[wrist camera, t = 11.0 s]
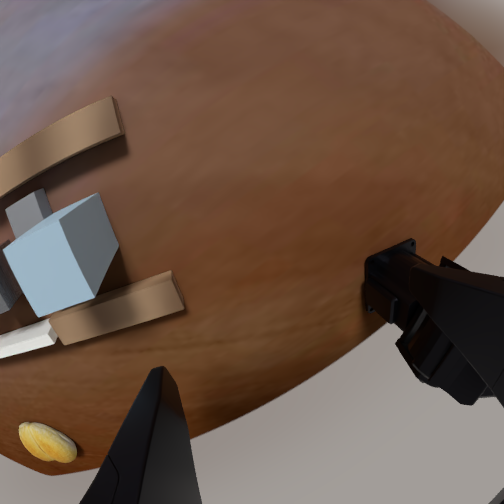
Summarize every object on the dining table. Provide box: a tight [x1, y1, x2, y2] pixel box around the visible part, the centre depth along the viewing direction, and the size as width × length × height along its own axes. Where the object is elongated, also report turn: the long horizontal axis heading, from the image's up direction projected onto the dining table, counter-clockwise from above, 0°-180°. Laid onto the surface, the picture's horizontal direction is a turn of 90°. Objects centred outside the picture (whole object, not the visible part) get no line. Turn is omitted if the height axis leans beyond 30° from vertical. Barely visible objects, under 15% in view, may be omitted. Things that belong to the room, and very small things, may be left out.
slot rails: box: [0, 96, 184, 345], centre depth 15 cm, size 11×15×2 cm
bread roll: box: [19, 422, 77, 463], centre depth 21 cm, size 8×9×4 cm
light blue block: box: [3, 188, 119, 318], centre depth 13 cm, size 7×8×7 cm
